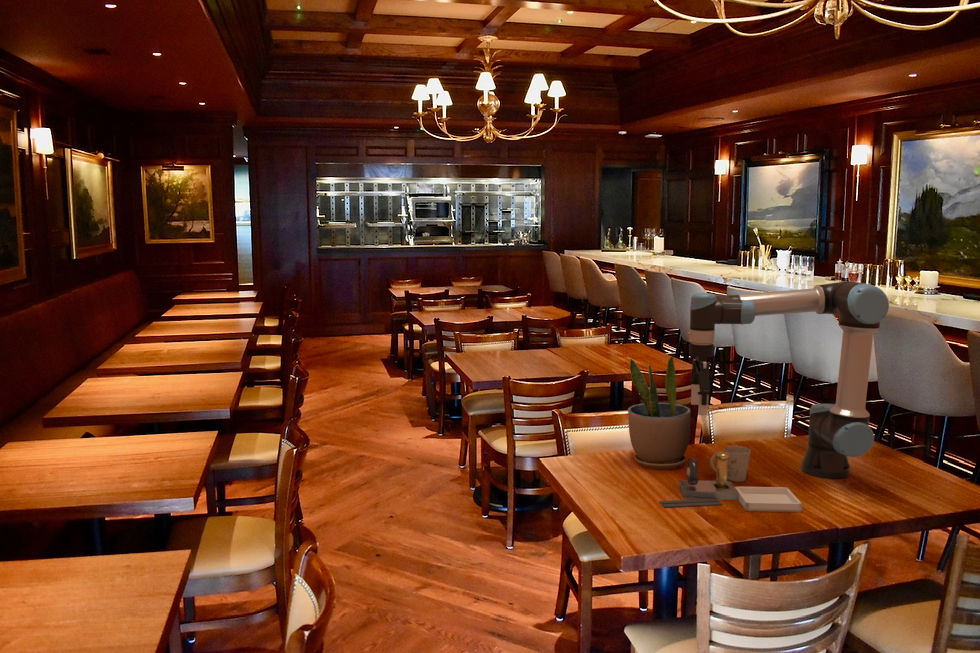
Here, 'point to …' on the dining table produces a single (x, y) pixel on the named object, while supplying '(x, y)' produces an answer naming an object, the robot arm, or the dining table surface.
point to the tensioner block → (704, 486)
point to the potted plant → (658, 423)
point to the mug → (735, 462)
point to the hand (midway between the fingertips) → (699, 409)
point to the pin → (722, 469)
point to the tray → (768, 499)
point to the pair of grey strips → (690, 503)
